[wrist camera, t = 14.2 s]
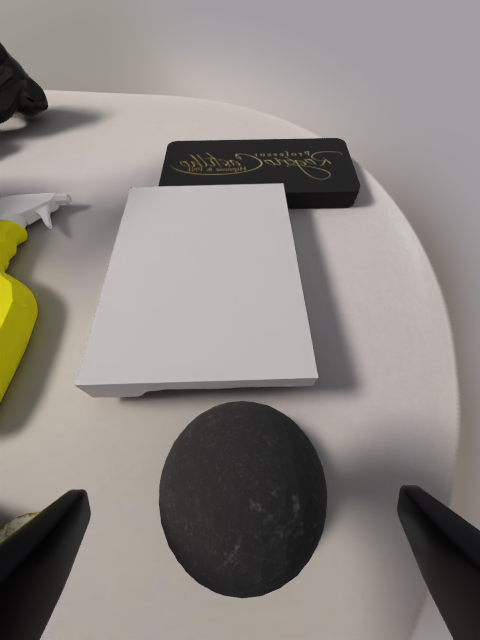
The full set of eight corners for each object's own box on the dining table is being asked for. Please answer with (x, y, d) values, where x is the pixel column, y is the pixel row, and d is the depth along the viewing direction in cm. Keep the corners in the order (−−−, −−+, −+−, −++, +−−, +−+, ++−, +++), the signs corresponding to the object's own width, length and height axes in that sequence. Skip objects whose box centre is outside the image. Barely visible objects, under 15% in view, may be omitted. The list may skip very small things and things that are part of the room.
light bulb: (296, 438, 17) (348, 395, 8) (291, 556, 14) (358, 669, 6) (206, 424, 18) (166, 369, 9) (183, 535, 15) (96, 609, 6)
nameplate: (356, 207, 30) (339, 153, 35) (362, 191, 29) (343, 137, 34) (161, 210, 31) (172, 156, 36) (156, 194, 29) (168, 141, 34)
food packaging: (141, 215, 31) (98, 400, 20) (130, 187, 28) (74, 385, 17) (279, 212, 31) (307, 393, 20) (283, 183, 28) (318, 377, 18)
